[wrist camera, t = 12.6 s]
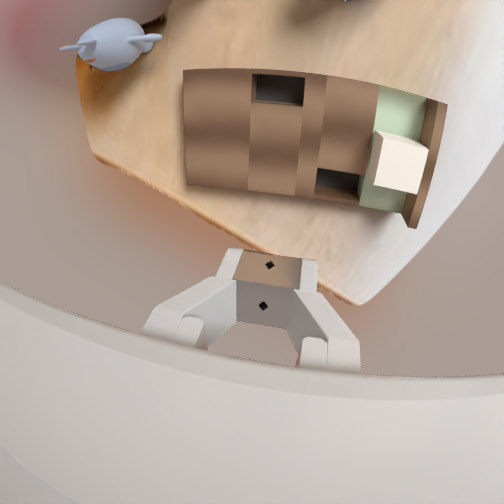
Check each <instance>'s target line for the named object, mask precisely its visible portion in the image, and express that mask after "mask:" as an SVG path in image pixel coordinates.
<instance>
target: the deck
mask: <svg viewBox="0 0 504 504" xmlns="http://www.w3.org/2000/svg"><path fill="white" fill-rule="evenodd" d="M183 100H184V135H185V157H186V175H187V185H198V186H210V187H220V188H231V189H240V190H250V191H258V192H267V193H275V194H283V195H291V196H298V197H305V198H312V199H319V200H326V201H332V202H339V203H345V204H351V205H357V206H363V207H369V208H374V209H380V210H385V211H391V212H396V213H401V214H402V216H403V218H404V220H405V222H406V224H407V226H408V227H409V228H414V229H416V228H417V225H418V223H419V219H420V216H421V213H422V210H423V207H424V204H425V201H426V197H427V194H428V190H429V187H430V183H431V180H432V176H433V172H434V168H435V164H436V160H437V156H438V152H439V147H440V143H441V138H442V133H443V128H444V123H445V118H446V112H447V106H448V105H447V104H444V103H441V102H438V101H435V100H432V99H429V98H426V97H422V96H419V95H416V94H412V93H409V92H405V91H401V90H398V89H394V88H390V87H386V86H381V85H377V84H372V83H368V82H363V81H358V80H352V79H347V78H341V77H335V76H328V75H321V74H313V73H305V72H295V71H283V70H268V69H238V68H223V69H193V70H183ZM376 130H377V131H382V132H386V133H390V134H394V135H398V136H402V137H406V138H410V139H414V140H417V141H418V142H420V143H421V144H422V145H423V146H425V147H426V148H427V149H428V150H429V151H428V156H427V160H426V164H425V168H424V171H423V175H422V179H421V183H420V186H419V190H418V193H417V194H413V193H409V192H405V191H400V190H396V189H391V188H386V187H381V186H377V185H373V182H372V180H371V178H370V176H369V174H368V168H369V163H370V158H371V153H372V148H373V142H374V137H375V131H376Z"/></svg>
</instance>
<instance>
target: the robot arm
mask: <svg viewBox="0 0 504 504" xmlns="http://www.w3.org/2000/svg"><path fill="white" fill-rule="evenodd" d="M317 264H318V261H317V260H315V259H306V258H295V257H288V256H280V255H273V254H269V253H263V252H257V251H251V250H243V249H238V248H231V247H230V248H228V249H227V251H226V254H225V256H224V258H223V260H222V262H221V265H220V267H219V269H218V271H217V274H216V275H215V277H214V276H210V277H208V278H206V279H205V280H203V281H201V282H199V283H197V284H196V285H194V286H192V287H190V288H188V289H187V290H185V291H183V292H181V293H180V294H178V295H176V296H174V297H172V298H171V299H169V300H167V301H165V302H163V303H161V304H160V305H158V306H156V307H155V308H154V310H153V312H152V314H151V315H150V317H149V319H148V320H147V322H146V324H145V325H144V327H143V329H142V331H141V333H140V334H139V333H135V332H132V331H129V330H126V329H122V328H119V327H116V326H113V325H110V324H106V323H104V322H100V321H97V320H95V319H92V318H88V317H86V316H83V315H80V314H77V313H75V312H72V311H69V310H66V309H64V308H61V307H58V306H56V305H53V304H51V303H48V302H46V301H43V300H41V299H38V298H36V297H34V296H31V295H29V294H27V293H24V292H21V291H20V290H17V289H15V288H13V287H11V286H9V285H7V284H4V283H2V282H0V504H504V373H503V374H491V375H474V376H446V377H445V376H443V377H421V376H418V377H417V376H387V375H370V374H361V369H360V346H359V341H358V340H357V338H356V337H355V336H354V335H353V333H352V332H351V331H350V329H349V328H348V327H347V326H346V324H345V323H344V322H343V320H342V319H341V318H340V317H339V315H338V314H337V313H336V312H335V310H334V309H333V308H332V307H331V305H330V304H329V303H328V301H327V300H326V299H325V298H324V296H323V295H322V294H321V293H317ZM236 321H241V322H247V323H254V324H261V325H266V326H272V327H277V328H283V329H286V331H287V333H288V335H289V337H290V339H291V341H292V343H293V345H294V347H295V349H296V351H297V353H298V358H297V361H296V365H295V367H293V366H287V365H280V364H273V363H267V362H261V361H256V360H250V359H245V358H239V357H234V356H229V355H224V354H219V353H215V352H210V351H208V349H207V347H208V346H209V345H210V344H211V343H213V342H214V341H215V340H216V339H217V338H219V337H220V336H221V335H222V334H223V333H225V332H226V331H227V330H228V329H229V328H230V327H232V325H234V324H235V323H236Z"/></svg>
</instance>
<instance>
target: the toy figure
mask: <svg viewBox="0 0 504 504" xmlns="http://www.w3.org/2000/svg"><path fill="white" fill-rule="evenodd" d="M162 38H163V36H162V35H161V34H147V35H145V34H144V31H143V29H142V27H141V26H140V25H139V24H138V23H137V22H136V21H134V20H132V19H129V18H114V19H109V20H107V21H104V22H101V23H99V24H97V25H95V26H94V27H92V28H90V29H89V30H87V31H86V32H85V33H84V34H83V35H82V36H81V37H80V39H79V41H78V42H77V44H76V45H69V46H64V47H61V48H60V49H59V51H69V50H74V49H77V52H78V54H79V56H80V57H81V58H82V59H83V60H84V61H86V62H87V63H89V64H90V65H92V66H94V67H97V68H98V69H100V70H103V71H116V70H121V69H124V68H126V67H128V66H129V65H130V64H132V63H133V62H134V61H135V60H136V59H137V58H138V57H139V56H140V54H141V53H142V52H144V53H145V52H148V51H150V50H151V49H152V47H153V42H154V41H160V40H161V39H162Z"/></svg>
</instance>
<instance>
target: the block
mask: <svg viewBox="0 0 504 504" xmlns="http://www.w3.org/2000/svg"><path fill="white" fill-rule="evenodd" d="M428 151H429V150H428V149H427V148H426V147H425V146H423V145H422V144H421V143H420V142H418V141H417V140H414V139H410V138H406V137H402V136H398V135H394V134H390V133H386V132H382V131H377V130H376V131H375V137H374V142H373V148H372V153H371V158H370V163H369V168H368V174H369V176H370V178H371V180H372V182H373V185H377V186H381V187H386V188H391V189H396V190H400V191H405V192H409V193H413V194H417V193H418V190H419V186H420V183H421V179H422V175H423V171H424V168H425V164H426V160H427V156H428Z"/></svg>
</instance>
